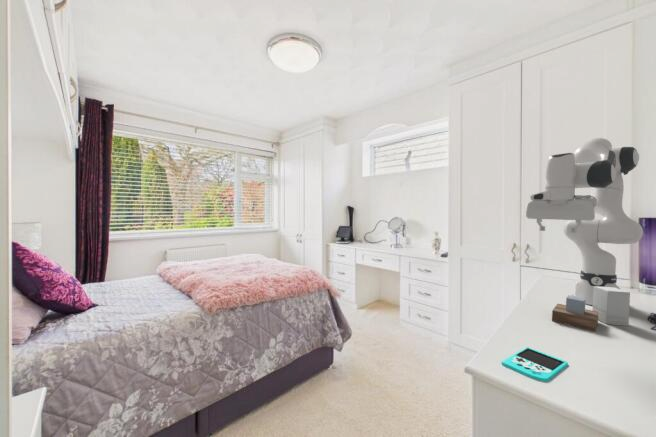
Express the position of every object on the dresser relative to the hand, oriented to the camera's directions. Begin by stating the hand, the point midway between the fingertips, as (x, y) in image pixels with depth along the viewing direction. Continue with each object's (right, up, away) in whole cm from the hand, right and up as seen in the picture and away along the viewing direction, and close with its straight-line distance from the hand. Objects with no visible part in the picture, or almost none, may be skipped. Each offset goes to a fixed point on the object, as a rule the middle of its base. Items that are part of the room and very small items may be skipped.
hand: (557, 231), depth 107 cm
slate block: (+6, -30, -1) cm, 31 cm away
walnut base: (+6, -34, -1) cm, 35 cm away
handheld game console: (-32, -35, -31) cm, 57 cm away
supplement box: (+20, -35, 0) cm, 40 cm away
